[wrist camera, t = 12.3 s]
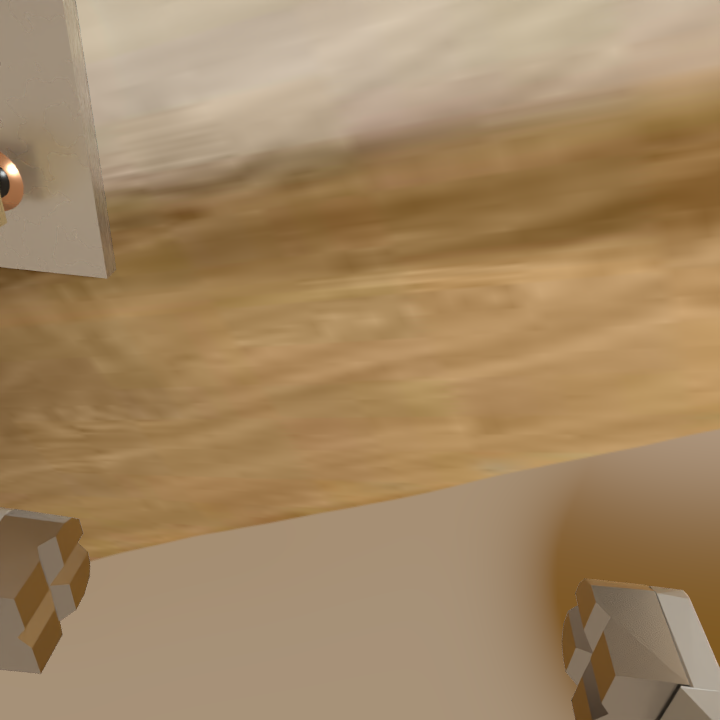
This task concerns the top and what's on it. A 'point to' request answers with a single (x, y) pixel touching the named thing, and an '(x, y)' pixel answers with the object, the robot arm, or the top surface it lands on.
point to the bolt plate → (49, 145)
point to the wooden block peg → (2, 214)
